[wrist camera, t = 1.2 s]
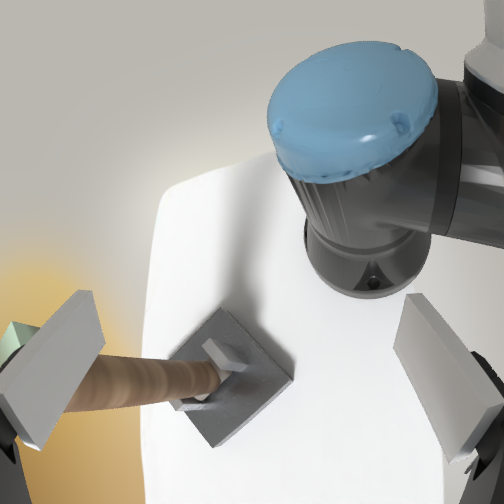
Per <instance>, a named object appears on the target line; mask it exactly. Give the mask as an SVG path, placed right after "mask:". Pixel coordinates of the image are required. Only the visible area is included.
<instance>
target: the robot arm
mask: <svg viewBox="0 0 504 504" xmlns="http://www.w3.org/2000/svg"><path fill="white" fill-rule="evenodd" d="M484 12H485V32H486V33H485V36H486V37H485V38H484V40H483V41H482V43H481V44H479V45H478V46H476V47H475V48H474V49H473V50H471V51H470V52H468V53H467V54H466V55H465V60H464V80H463V82H459V81H451V80H444V79H438V78H435V76H434V75H433V74H432V72H431V69H430V68H429V66H428V65H427V63H426V62H425V61H424V60H423V59H422V58H421V57H419V56H418V55H417V54H416V53H414V52H412V51H410V50H408V49H406V50H401V48H400V47H399V46H398V45H395V44H392V43H386V42H379V41H359V42H352V43H345V44H341V45H337V46H334V47H331V48H328V49H325V50H323V51H320V52H318V53H316V54H314V55H312V56H310V57H309V58H308V59H306V60H305V61H303V62H301V63H299V64H298V65H296V66H295V67H294V68H293V69H291V70H290V71H289V72H288V73H287V74H286V75H285V76H284V77H283V79H282V80H281V81H280V82H279V84H278V85H277V87H276V88H275V90H274V92H273V94H272V96H271V99H270V101H269V105H268V110H267V124H268V129H269V132H270V135H271V138H272V141H273V143H274V146H275V149H276V152H277V154H276V155H277V158H278V161H279V163H280V165H281V167H282V168H283V170H284V171H286V173H287V175H288V178H289V180H290V182H291V184H292V186H293V188H294V190H295V192H296V194H297V196H298V198H299V200H300V202H301V204H302V206H303V209H304V211H305V213H306V220H305V226H304V243H305V249H306V252H307V255H308V258H309V260H310V262H311V264H312V266H313V267H314V269H315V271H316V272H317V274H318V275H319V277H320V278H321V279H322V280H323V281H324V282H325V283H326V284H327V285H329V286H330V287H331V288H333V289H334V290H336V291H338V292H340V293H342V294H344V295H347V296H350V297H354V298H360V299H376V298H382V297H386V296H389V295H392V294H394V293H396V292H398V291H400V290H402V289H403V288H405V287H406V286H407V285H409V284H410V283H411V282H412V281H413V280H414V279H415V278H416V277H417V275H418V274H419V273H420V271H421V270H422V268H423V265H424V264H425V261H426V259H427V256H428V253H429V249H430V245H431V234H436V235H442V236H447V237H451V238H456V239H461V240H466V241H470V242H475V243H479V244H484V245H489V246H493V247H497V248H502V249H504V0H484ZM104 345H105V339H104V336H103V333H102V329H101V325H100V321H99V318H98V314H97V310H96V306H95V302H94V297H93V293H92V291H88V290H77V291H76V292H75V293H74V294H73V295H72V296H71V297H70V298H69V299H68V300H67V301H66V302H65V303H64V304H63V305H62V306H61V307H60V308H59V309H58V310H57V311H56V312H55V313H54V315H52V317H51V318H50V319H49V320H48V321H47V322H46V323H45V324H44V325H43V326H42V327H41V328H40V329H39V330H38V331H37V332H36V333H35V335H34V336H33V337H32V338H31V339H30V340H29V341H28V342H27V343H26V344H24V345H22V346H21V347H19V348H18V349H16V350H15V351H14V352H13V353H12V354H11V355H10V356H9V357H8V358H7V361H5V362H4V363H3V364H2V365H1V367H0V504H32V502H31V499H30V496H29V492H28V489H27V485H26V481H25V477H24V473H23V469H22V464H21V460H20V455H19V450H18V446H17V444H16V442H15V441H14V439H15V438H16V436H17V434H18V436H19V437H20V439H21V440H22V441H23V443H24V444H25V445H27V446H29V447H32V448H34V449H36V450H39V451H41V450H42V449H43V447H44V445H45V443H46V441H47V439H48V438H49V436H50V434H51V432H52V430H53V429H54V427H55V425H56V423H57V422H58V420H59V418H60V416H61V415H62V413H63V411H64V410H65V408H66V406H67V404H68V403H69V401H70V399H71V398H72V396H73V394H74V393H75V391H76V389H77V388H78V386H79V385H80V383H81V381H82V380H83V378H84V376H85V375H86V373H87V372H88V370H89V368H90V367H91V365H92V364H93V362H94V360H95V359H96V357H97V356H98V354H99V353H100V351H101V349H102V348H103V346H104ZM393 349H394V350H395V352H396V354H397V356H398V358H399V360H400V362H401V364H402V366H403V368H404V370H405V372H406V374H407V376H408V378H409V380H410V382H411V384H412V386H413V388H414V390H415V392H416V394H417V396H418V398H419V400H420V402H421V404H422V406H423V408H424V410H425V412H426V414H427V417H428V419H429V421H430V423H431V425H432V427H433V430H434V432H435V434H436V436H437V438H438V441H439V443H440V445H441V448H442V450H443V452H444V454H445V457H446V459H447V461H448V464H452V463H455V462H458V461H461V460H464V459H466V458H468V456H469V455H470V454H471V452H472V451H473V450H474V448H476V450H477V452H478V456H477V457H476V458H475V460H474V461H473V462H472V463H471V465H470V466H469V467H468V468H467V469H466V471H465V474H467V473H468V472H469V471H470V470H471V469H472V470H471V473H470V476H469V479H468V481H467V484H466V487H465V490H464V492H463V495H462V498H461V500H460V503H459V504H504V383H503V382H502V380H501V379H500V378H499V377H497V374H496V372H495V371H494V370H492V367H491V366H490V364H489V363H488V362H487V361H486V359H485V358H483V357H482V356H481V355H479V354H478V353H476V352H475V351H473V352H470V351H469V350H468V349H467V348H466V346H465V345H464V344H463V343H462V341H461V340H460V339H459V337H458V336H457V335H456V334H455V332H454V331H453V330H452V329H451V327H450V326H449V325H448V324H447V323H446V321H445V320H444V319H443V318H442V316H441V315H440V314H439V313H438V312H437V310H436V309H435V308H434V307H433V306H432V305H431V303H430V302H429V301H428V300H427V299H426V298H425V296H424V295H423V294H422V293H417V294H406V298H405V302H404V307H403V311H402V315H401V319H400V323H399V327H398V331H397V335H396V339H395V342H394V346H393Z"/></svg>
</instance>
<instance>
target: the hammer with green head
mask: <svg viewBox="0 0 504 504" xmlns="http://www.w3.org/2000/svg"><path fill="white" fill-rule="evenodd" d="M39 329H40V328H39V327H35V326H30V325H26V324H22V323H18V322H14V321H12V322H11V323H10V325H9V327H8V328H7V330H6V332H5V334H4V335H3V337H2V339H1V341H0V367H1V365H2V364H3V363H4V362H5V361H7V358H8V357H9V356H10V355H11V354H12V353H13V352H14V351H15V350H16V349H18V348H19V347H21V346H22V345H24V344H26V343H27V342H28V341H29V340H30V339H31V338H32V337H33V336H34V335H35V333H36V332H37V331H38V330H39ZM231 374H232V371H230V370H223V369H220V368H219V367H218V365H217V364H216V363H215V362H214V361H213V359H212V358H211V357H210V356H209V357H208V358H207V359H206V360H205V361H182V360H161V359H145V358H132V357H119V356H109V355H99V354H98V356H97V357H96V359H95V360H94V362H93V364H92V365H91V367H90V368H89V370H88V372H87V373H86V375H85V376H84V378H83V380H82V381H81V383H80V385H79V386H78V388H77V389H76V391H75V393H74V394H73V396H72V398H71V399H70V401H69V403H68V404H67V406H66V408H65V410H64V411H63V413H65V412H79V411H93V410H104V409H114V408H122V407H130V406H138V405H146V404H153V403H159V402H165V401H172V400H177V399H183V398H189V397H194V398H196V399H198V400H201V401H202V400H204V399H205V398H206V397H207V396H208V395H209V394H210V393H212V392H214V391H216V390H217V389H218V387H219V386H220V384H221V383H222V382H223V381H224V380H225V379H226V378H227V377H229V376H230V375H231Z"/></svg>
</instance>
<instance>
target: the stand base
mask: <svg viewBox="0 0 504 504" xmlns="http://www.w3.org/2000/svg"><path fill="white" fill-rule="evenodd" d="M209 356H210V357H211V358H212V359H213V361H214V362H215V363H216V364H217V365H218V367H219V368H220V369H223V370H230V371H232V374H231V375H230V376H229V377H227V378H226V379H225V380H224V381H223V382H222V383H221V384H220V386H219V387H218V389H217V390H216V391H214V392H212V393H210V394H209V395H208V396H207V397H206V398H205V399H204V400H202V401H201V400H198V399H196V398H194V397H189V398H183V399H177V400H172V401H169V402H170V403H171V405H172V406H173V408H174V409H175V411H184V412H185V413H186V415H187V416H188V417H189V419H190V420H191V421H192V423H193V424H194V425H195V427H196V428H197V429H198V430H199V432H200V433H201V434H202V436H203V437H204V438H205V439H206V441H207V442H208V443H209V444H210V446H211V447H212V448H215V447H218V446H221V445H222V444H223V443H225V442H226V441H227V440H228V439H229V438H231V437H232V436H233V435H234V434H235V433H237V432H238V431H239V430H240V429H241V428H243V427H244V426H245V425H246V424H247V423H248V422H249V421H251V420H252V419H253V418H254V417H255V416H256V415H257V414H259V413H260V412H261V411H262V410H263V409H264V408H265V407H266V406H267V405H269V404H270V403H271V402H272V401H273V400H274V399H275V398H276V397H277V396H278V395H279V394H281V393H282V392H283V391H284V390H285V389H286V388H287V387H288V386H289V385H290V384H291V383H292V382H293V380H292V379H291V378H290V377H289V376H288V375H287V374H286V373H285V372H284V371H283V370H282V369H281V368H280V367H279V366H278V365H277V363H276V362H275V361H274V360H273V359H272V358H271V357H270V356H269V355H268V354H267V353H266V352H265V351H264V350H263V349H262V348H261V347H260V346H259V344H258V343H257V342H256V341H255V340H254V339H253V338H252V337H251V336H250V335H249V334H248V333H247V332H246V330H245V329H244V328H243V327H242V326H241V325H240V324H239V323H238V322H237V321H236V320H235V318H234V317H233V316H232V315H231V314H230V313H229V312H228V311H227V310H225V309H223V308H220V309H219V310H218V311H217V312H216V313H215V314H214V315H213V316H212V317H211V318H210V319H209V320H208V321H207V322H206V323H205V324H204V325H203V326H202V327H201V328H200V329H199V330H198V331H197V332H196V333H195V334H194V335H193V336H192V337H191V339H190V340H189V341H188V342H187V343H186V344H185V345H184V346H183V347H182V348H181V349H180V350H179V351H178V352H177V353H176V354H175V355H174V356H173V357H172V358H171V359H170V360H182V361H205V360H206V359H207V358H208V357H209Z"/></svg>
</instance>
